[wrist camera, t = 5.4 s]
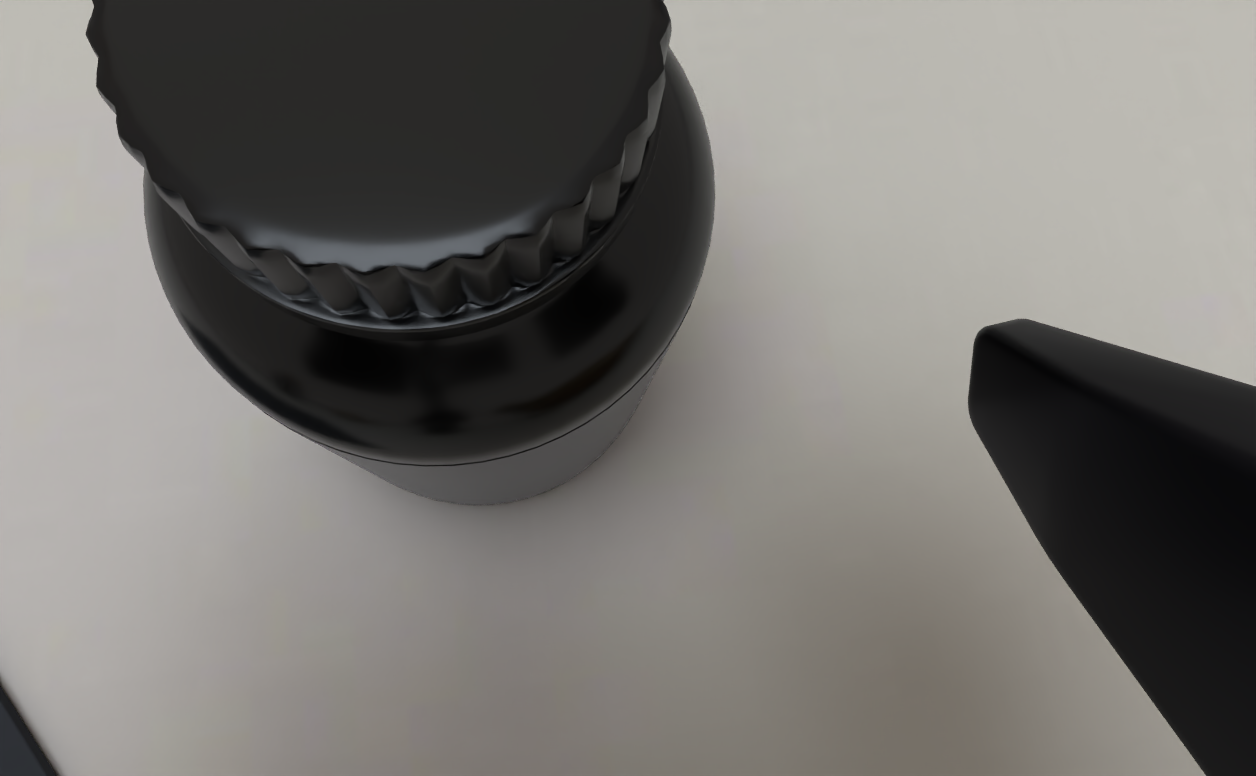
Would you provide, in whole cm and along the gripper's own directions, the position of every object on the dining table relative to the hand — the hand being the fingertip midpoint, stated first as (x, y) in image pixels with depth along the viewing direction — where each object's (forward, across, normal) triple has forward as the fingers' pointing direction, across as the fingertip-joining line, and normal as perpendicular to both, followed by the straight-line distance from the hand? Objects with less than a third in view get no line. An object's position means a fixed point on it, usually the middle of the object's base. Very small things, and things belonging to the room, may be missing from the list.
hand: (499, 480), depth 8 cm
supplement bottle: (+10, 0, +5) cm, 12 cm away
